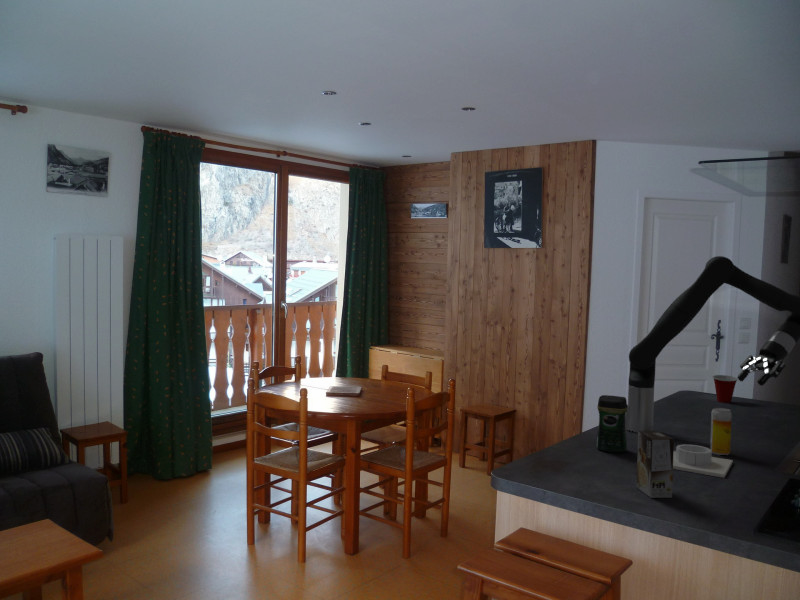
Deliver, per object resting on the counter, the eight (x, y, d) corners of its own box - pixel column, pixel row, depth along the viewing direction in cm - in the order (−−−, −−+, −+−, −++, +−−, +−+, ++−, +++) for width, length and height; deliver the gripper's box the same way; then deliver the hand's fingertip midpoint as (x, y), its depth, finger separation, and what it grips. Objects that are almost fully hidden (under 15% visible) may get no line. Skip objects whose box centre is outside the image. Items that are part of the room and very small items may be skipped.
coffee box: (673, 498, 171) (675, 438, 171) (650, 498, 171) (652, 439, 170) (656, 486, 181) (658, 430, 180) (635, 487, 180) (636, 430, 179)
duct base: (653, 465, 200) (654, 449, 200) (666, 452, 215) (666, 437, 215) (724, 477, 189) (724, 461, 189) (732, 463, 204) (733, 447, 204)
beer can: (732, 456, 212) (734, 411, 211) (712, 455, 213) (714, 410, 212) (727, 451, 217) (728, 408, 217) (707, 450, 219) (709, 407, 218)
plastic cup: (715, 403, 300) (716, 378, 299) (708, 399, 310) (709, 374, 310) (740, 404, 298) (741, 379, 298) (732, 400, 309) (733, 375, 308)
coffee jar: (628, 449, 219) (629, 395, 218) (624, 454, 212) (625, 399, 211) (599, 445, 224) (600, 392, 223) (594, 450, 217) (595, 396, 216)
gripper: (754, 337, 226) (727, 371, 223) (789, 342, 212) (760, 377, 210) (766, 352, 228) (739, 385, 225) (801, 357, 214) (772, 393, 211)
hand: (749, 381), depth 217 cm, fingers open, 8 cm apart
